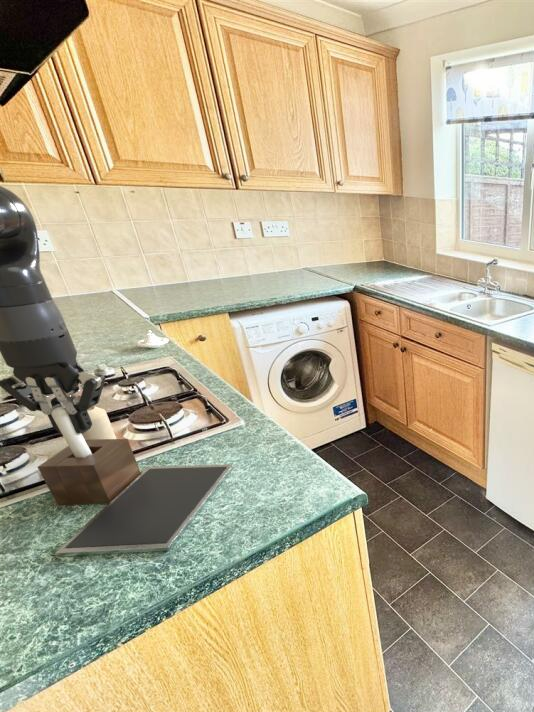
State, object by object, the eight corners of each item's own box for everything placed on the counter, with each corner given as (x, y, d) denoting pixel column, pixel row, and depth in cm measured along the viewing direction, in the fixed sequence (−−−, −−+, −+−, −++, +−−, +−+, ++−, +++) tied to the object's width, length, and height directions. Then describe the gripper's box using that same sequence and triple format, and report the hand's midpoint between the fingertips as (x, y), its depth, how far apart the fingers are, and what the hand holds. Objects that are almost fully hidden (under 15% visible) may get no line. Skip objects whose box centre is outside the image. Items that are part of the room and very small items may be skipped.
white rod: (88, 488, 73) (45, 411, 65) (97, 480, 75) (55, 404, 67) (101, 487, 73) (59, 411, 65) (109, 480, 75) (69, 404, 67)
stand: (57, 505, 70) (37, 466, 67) (93, 476, 77) (77, 439, 74) (110, 503, 71) (93, 465, 68) (141, 474, 79) (127, 438, 75)
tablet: (56, 557, 61) (54, 552, 61) (149, 469, 80) (148, 466, 80) (169, 551, 63) (168, 546, 63) (234, 467, 82) (233, 463, 82)
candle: (83, 450, 84) (63, 406, 80) (119, 441, 88) (102, 399, 83) (82, 463, 80) (62, 418, 76) (120, 453, 84) (103, 409, 80)
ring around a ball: (135, 352, 130) (168, 349, 133) (129, 335, 127) (162, 332, 131) (141, 345, 136) (171, 342, 140) (135, 328, 134) (167, 326, 137)
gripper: (-51, 338, 58) (6, 444, 65) (62, 339, 60) (105, 442, 67) (1, 323, 64) (47, 420, 72) (102, 324, 66) (137, 419, 74)
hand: (75, 430), depth 69 cm, fingers closed on white rod, 2 cm apart
